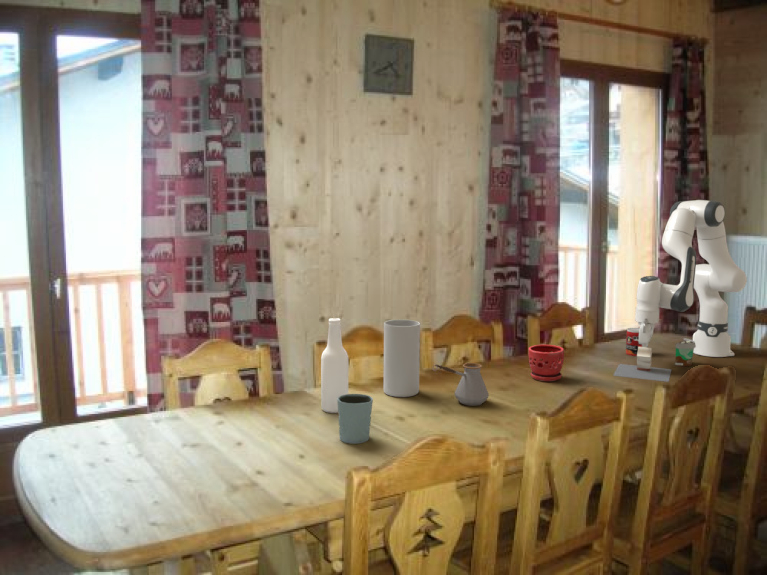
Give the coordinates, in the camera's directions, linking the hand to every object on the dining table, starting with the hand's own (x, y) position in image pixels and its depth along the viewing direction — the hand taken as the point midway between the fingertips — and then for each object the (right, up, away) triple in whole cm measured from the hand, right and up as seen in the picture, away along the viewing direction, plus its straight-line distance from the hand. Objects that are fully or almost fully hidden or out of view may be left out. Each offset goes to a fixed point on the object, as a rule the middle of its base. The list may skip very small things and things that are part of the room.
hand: (644, 351), depth 288 cm
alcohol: (-120, -15, -53) cm, 132 cm away
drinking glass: (-113, -18, -79) cm, 139 cm away
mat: (-2, -8, -5) cm, 10 cm away
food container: (+20, -7, +8) cm, 23 cm away
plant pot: (-43, -9, -14) cm, 46 cm away
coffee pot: (-79, -14, -46) cm, 93 cm away
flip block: (0, -6, 0) cm, 6 cm away
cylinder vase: (-98, -12, -33) cm, 104 cm away
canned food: (+5, -4, +27) cm, 27 cm away
